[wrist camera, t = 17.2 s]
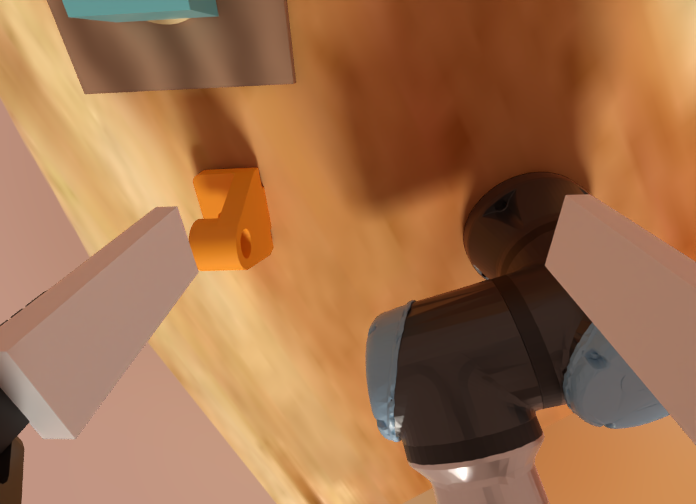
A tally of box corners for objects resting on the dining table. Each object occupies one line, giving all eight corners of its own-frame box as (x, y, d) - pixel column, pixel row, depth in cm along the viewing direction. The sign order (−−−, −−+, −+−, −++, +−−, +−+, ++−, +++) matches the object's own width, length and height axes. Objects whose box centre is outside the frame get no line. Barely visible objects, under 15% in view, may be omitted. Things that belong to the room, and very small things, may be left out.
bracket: (200, 167, 41) (145, 208, 30) (259, 165, 40) (224, 205, 30) (222, 245, 46) (182, 302, 36) (274, 244, 46) (249, 301, 35)
